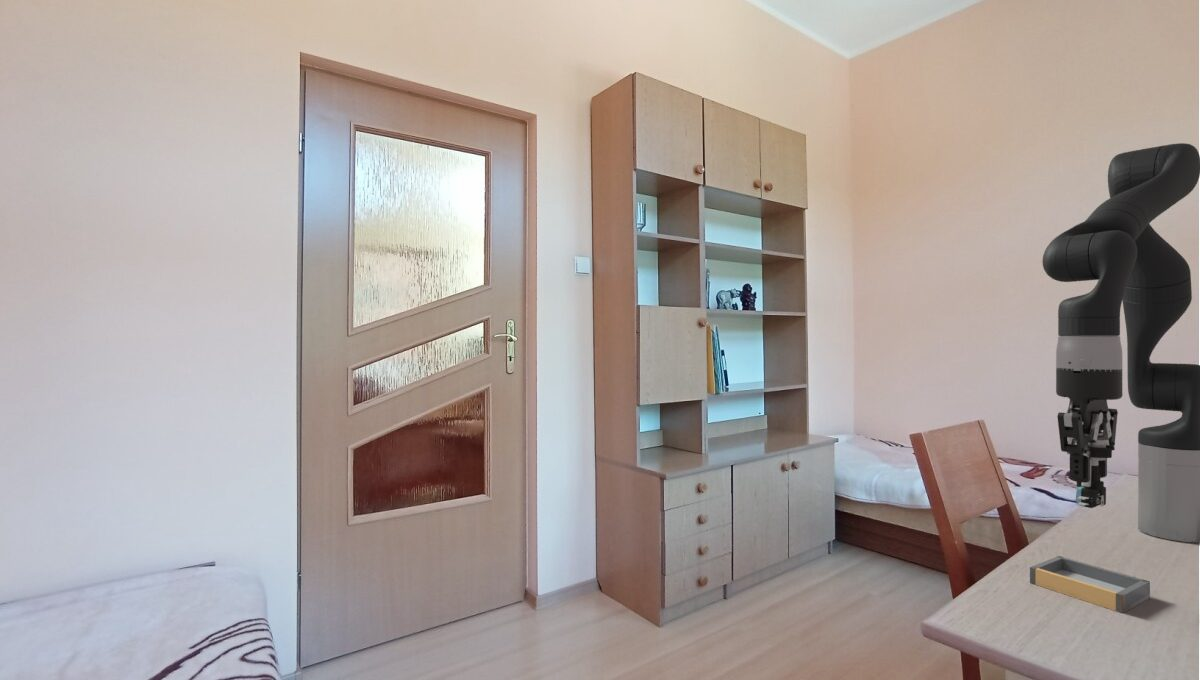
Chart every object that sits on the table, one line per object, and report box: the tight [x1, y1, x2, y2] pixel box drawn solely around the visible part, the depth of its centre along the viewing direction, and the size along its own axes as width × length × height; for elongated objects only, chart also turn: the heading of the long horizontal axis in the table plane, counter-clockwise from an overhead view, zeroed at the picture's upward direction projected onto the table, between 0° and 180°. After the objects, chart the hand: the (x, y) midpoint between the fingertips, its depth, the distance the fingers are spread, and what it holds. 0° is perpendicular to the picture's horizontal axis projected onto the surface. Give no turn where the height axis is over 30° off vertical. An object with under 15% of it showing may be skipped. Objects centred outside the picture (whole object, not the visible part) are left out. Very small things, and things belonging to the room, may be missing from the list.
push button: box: [1075, 438, 1115, 509], centre depth 83 cm, size 7×5×10 cm
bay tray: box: [1029, 555, 1151, 614], centre depth 84 cm, size 10×11×2 cm
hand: (1088, 478), depth 84 cm, fingers closed on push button, 5 cm apart
